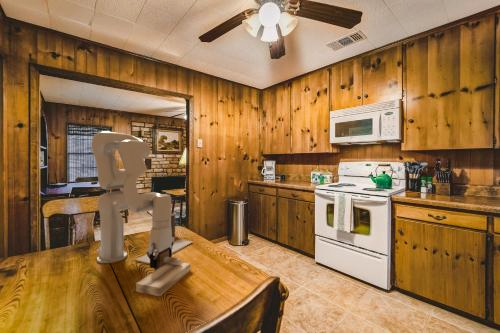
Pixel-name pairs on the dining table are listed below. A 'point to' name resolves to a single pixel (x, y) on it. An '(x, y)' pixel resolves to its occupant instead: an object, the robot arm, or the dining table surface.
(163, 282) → the birch plank
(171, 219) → the pillar candle
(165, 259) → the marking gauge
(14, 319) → the dining table surface
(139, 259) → the baseboard
